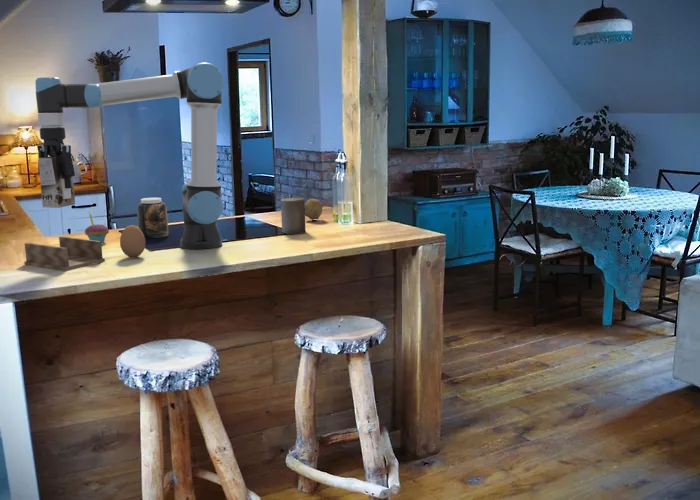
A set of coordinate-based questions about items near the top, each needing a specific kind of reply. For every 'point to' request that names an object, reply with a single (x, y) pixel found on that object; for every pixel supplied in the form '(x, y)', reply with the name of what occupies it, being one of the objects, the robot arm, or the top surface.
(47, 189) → the coffee box
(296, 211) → the pillar candle
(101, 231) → the cupcake
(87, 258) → the walnut rack
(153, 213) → the jar
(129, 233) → the egg
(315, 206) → the natural sponge
